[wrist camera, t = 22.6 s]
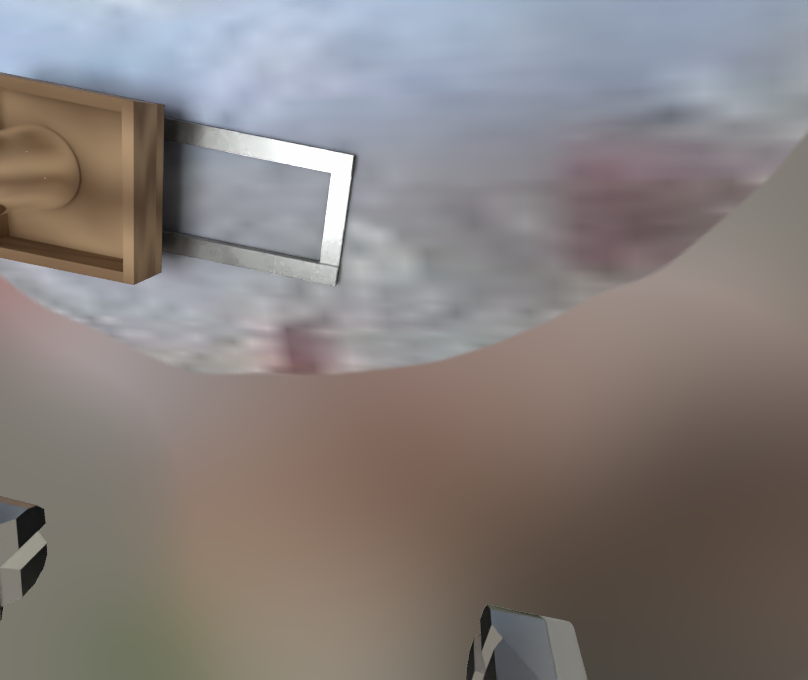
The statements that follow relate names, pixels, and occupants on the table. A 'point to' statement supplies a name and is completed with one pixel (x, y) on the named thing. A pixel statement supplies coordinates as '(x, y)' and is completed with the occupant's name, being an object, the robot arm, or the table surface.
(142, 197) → the tray
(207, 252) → the track
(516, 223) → the table surface
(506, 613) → the robot arm
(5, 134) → the beer glass
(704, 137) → the table surface
